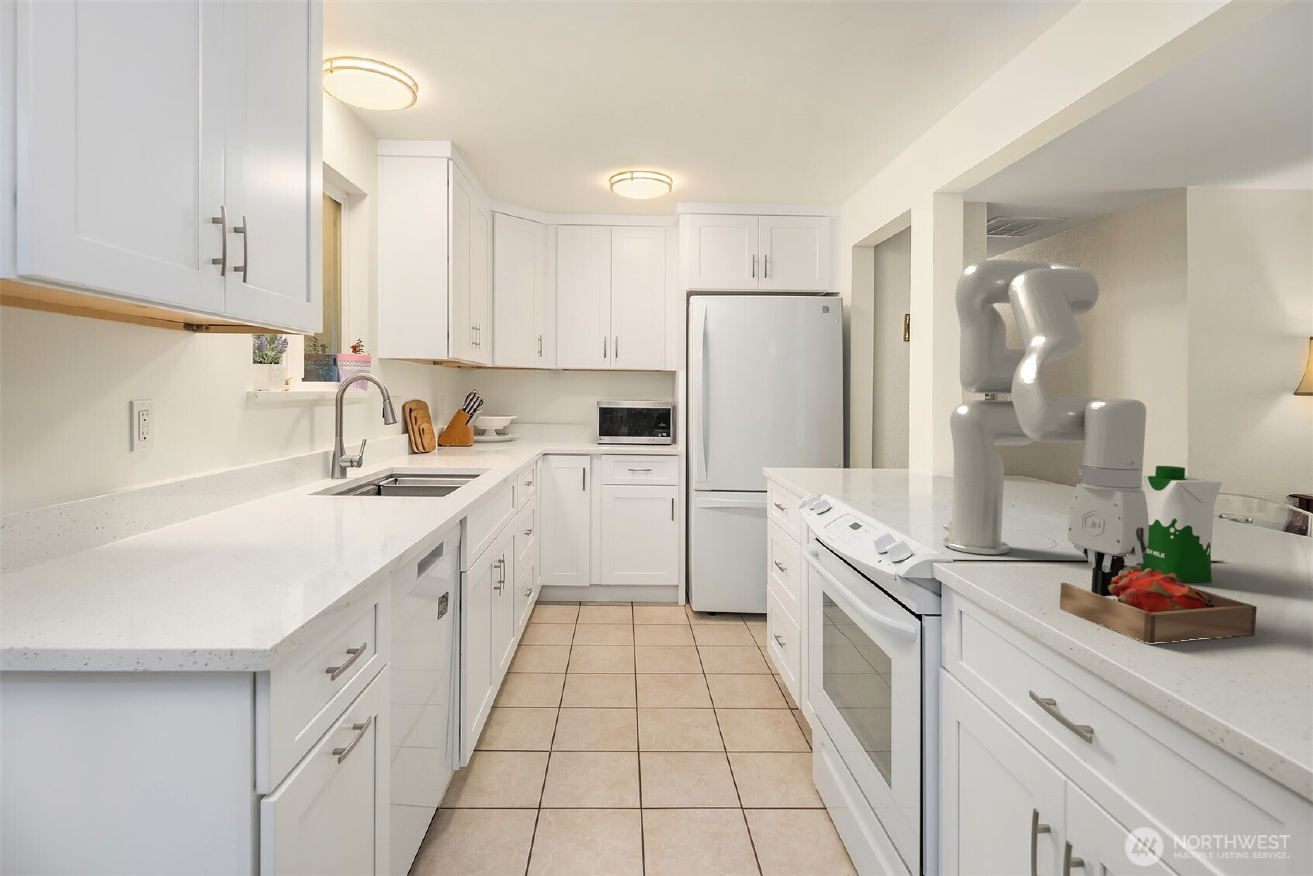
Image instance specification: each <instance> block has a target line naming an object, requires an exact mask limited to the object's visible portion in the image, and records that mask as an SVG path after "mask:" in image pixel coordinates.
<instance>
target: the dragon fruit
mask: <svg viewBox="0 0 1313 876" xmlns="http://www.w3.org/2000/svg"><path fill="white" fill-rule="evenodd" d="M1130 569H1131V570H1128V569H1127V570H1125V569H1124V570H1123V571H1120V573H1119V575H1118V576H1116V577H1114V578H1113V577H1112V580H1111V585H1109V586H1107V587H1108V588H1109V591H1110V592H1111V594H1113V595H1115V598H1117V599H1115V598H1113V600H1116V601H1118V602H1121V603H1124V604H1127V605H1130V606H1132V607H1135V608H1138V609H1141V610H1144V611H1147V612H1149V613H1152V612H1165V611H1177V610H1189V609H1201V608H1205V607H1206V608H1214V605H1213V604H1212V605H1210V606H1208V605H1209V604H1208V603H1210V602H1211V600H1209V598H1208V597H1207V596H1206V595H1205V594H1203V593H1201V592H1199V591H1196V590H1192V589H1191V587H1192V586H1191V585H1189V584H1186V583H1184V582H1182V580H1181V579H1179V578H1176V576H1177V575H1176V574H1175V573H1170V574H1167V575H1163V574H1162V572H1161V571H1160V570H1159V569H1155V570H1153V571H1152V569H1151V568H1147V569H1146V570H1145V571H1142V570H1141V568H1140V567H1135V566H1131V567H1130Z"/></svg>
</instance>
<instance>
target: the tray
mask: <svg viewBox="0 0 1313 876" xmlns="http://www.w3.org/2000/svg"><path fill="white" fill-rule="evenodd" d="M1191 589H1192V590H1196V591H1199V592H1201V593H1203V594H1205V595H1206V596H1207V597H1208V598H1209V600H1211V602H1210V603H1208V604H1209V605H1208V606H1210V605H1212V604H1213V605H1214V608H1206V607H1205V608H1201V609H1189V610H1177V611H1165V612H1152V613H1149V612H1147V611H1144V610H1141V609H1138V608H1135V607H1132V606H1130V605H1127V604H1124V603H1121V602H1118V601H1117V599H1116V600H1113V599H1114V598H1113V599H1112V598H1109V597H1108V596H1101V595H1099V594H1096V593H1093V592H1091V591H1090V590H1087V589H1085V588H1081V587H1079V586H1076V585H1073V584H1070V583H1067V582H1061V583H1060V598H1059V610H1062V611H1065V612H1067V613H1070V614H1072V615H1074V614H1075V616H1077V617H1079V618H1082V619H1084V618H1086V619H1085V620H1087V619H1088V620H1087V621H1089V620H1090V621H1089V622H1091V621H1093V622H1092V623H1094V622H1096V623H1098V624H1097V625H1099V624H1102V625H1104V626H1106V627H1108V628H1107V629H1109V628H1112V629H1114V630H1115V631H1114V632H1116V631H1119V632H1122V633H1123V634H1125V635H1124V636H1126V635H1129V636H1131V637H1133V638H1137V639H1139V640H1142V641H1144V642H1148V643H1155V642H1172V641H1181V640H1189V639H1199V638H1217V637H1227V636H1231V637H1230V638H1233V637H1232V636H1240V637H1244V636H1243V635H1250V636H1255V635H1256V620H1257V608H1258V606H1257V605H1252V604H1250V603H1246V602H1243V601H1239V600H1236V599H1232V598H1228V597H1225V596H1223V595H1218V594H1215V593H1212V592H1209V591H1205V590H1201V589H1198V588H1195V587H1192V586H1191ZM1096 623H1095V624H1096ZM1104 626H1103V627H1104ZM1106 627H1105V628H1106ZM1123 634H1122V635H1123ZM1131 637H1130V638H1131ZM1133 638H1132V639H1133Z"/></svg>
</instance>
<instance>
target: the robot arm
mask: <svg viewBox="0 0 1313 876" xmlns="http://www.w3.org/2000/svg"><path fill="white" fill-rule="evenodd" d="M955 287H956V289H955V294H954V295H955V306H956V312H957V315H958V321H959V327H960V340H959V342H960V343H959V345H960V346H959V382H960V385H961V387H962V389H963V390H964V391H965V392H968V393H972V394H983V395H985V394H986V395H1005V394H1006V396H1007V400H998V399H994V400H993V399H992V400H991V399H987V400H986V399H984V400H983V399H977V400H968V401H965V402H962V403H960V404H958V405H957V406H956V407H955V408H954V409H953V411H952V412H951V415H950V420H949V423H950V432H951V438H952V446H953V473H952V474H953V478H952V479H953V480H952V482H953V484H952V503H951V504H952V507H951V508H952V509H951V521H950V522H948V523H944V524H943V527H942V528H943V530H945V531H948V536H946V537H943V539H942V544H943V546H944V547H946V546H948V547H949V549H951V550H954V549H955V551H959V552H963V553H967V554H977V555H1002V554H1003V555H1004V554H1007V553H1009V552H1010V545H1009V544H1008V543H1006V542H1004V541H1002V532H1003V531H1002V528H1003V510H1004V508H1003V507H1004V506H1003V505H1004V487H1005V468H1004V462H1003V459H1002V458H1001V456H1000V455H999V453H998V451H997V449H996V448H995V447H996V446H1024V445H1025V446H1026V445H1029V444H1031V443H1034V442H1040V443H1077V444H1079V443H1082V446H1083V447H1082V461H1081V462H1082V463H1081V465H1082V466H1081V467H1079V469H1078V470H1077V471H1078V472H1077V474H1079V475H1080V476H1081V478H1080V479H1081V481H1080V483H1077V484H1076V486H1075V489H1074V492H1073V495H1072V498H1071V502H1070V508H1069V512H1068V513H1069V515H1068V520H1067V521H1068V522H1067V533H1066V534H1067V540H1068V542H1069V543H1071V544H1073V547H1074V549H1075V550H1077V551H1078V552H1080V553H1082V554H1084V556H1085V557H1086V559H1087V561H1088V566H1089V567H1090V568H1091V569H1092V574H1091V576H1092V577H1091V591H1090V592H1093V593H1096V594H1099V595H1101V596H1104V597H1114V596H1115V595H1113V594H1111V592H1110V591H1109V588H1108V587H1107V586H1109V585H1111V580H1112V577H1113V578H1114V577H1116V576H1118V575H1119V576H1120V572H1122V571H1124V570H1125V568H1126V567H1128V566H1131V567H1135V566H1141V565H1143V554H1145V553H1146V551H1147V547H1148V535H1149V523H1148V509H1147V496H1146V491H1145V490H1142V489H1143V488H1142V486H1143V469H1144V457H1145V456H1144V453H1145V439H1146V438H1145V436H1146V422H1147V421H1146V420H1147V418H1146V417H1147V407H1146V405H1145V404H1144V402H1143V401H1140V400H1139V399H1130V398H1129V399H1126V398H1100V397H1077V396H1075V397H1074V396H1057V397H1056V396H1048V393H1047V391H1046V388H1045V368H1044V366H1045V365H1048V364H1051V363H1053V362H1056V361H1058V360H1060V359H1063V358H1065V357H1067V356H1068V355H1070V354H1072V353H1073V352H1075V351H1076V350H1077V349H1078V347H1080V345H1081V344H1082V334H1081V332H1080V331H1081V330H1079V326H1078V324H1077V322H1076V321H1077V320H1076V318H1075V316H1082V315H1085V314H1087V313H1088V312H1090V311H1092V309H1093V308H1094V307H1095V305H1096V304H1097V302H1098V299H1099V295H1100V294H1099V293H1100V289H1099V284H1098V281H1097V279H1096V278H1095V275H1093V274H1092V273H1091V272H1090V271H1088V270H1086V269H1084V268H1080V267H1076V266H1071V265H1067V264H1062V263H1059V262H1055V261H1049V260H1037V259H1036V260H1035V259H1032V260H1027V259H1024V260H1023V259H1021V260H1020V259H988V260H987V259H986V260H981V261H977V262H974V263H972V264H969V265H968V266H967V267H966V268H964V270H963V271H962V272H961V274H960V275H959V278H958V280H957V283H956V286H955ZM994 304H1010V306H1011V310H1012V313H1013V316H1014V319H1015V323H1016V326H1017V328H1018V329H1017V330H1018V332H1019V335H1020V338H1021V342H1022V345H1023V348H1008V347H1007V325H1006V322H1005V321H1004V318H1003V316H1002V315H1001V313H1000V312H999V310H997V308H995V306H994ZM948 547H947V548H948ZM1115 597H1116V596H1115Z"/></svg>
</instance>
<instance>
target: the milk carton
mask: <svg viewBox="0 0 1313 876" xmlns="http://www.w3.org/2000/svg"><path fill="white" fill-rule="evenodd" d="M1142 481H1143V484H1144V491H1145V496H1146V501H1147V509H1148V523H1149V535H1148V547H1147V551H1146V553H1145V554H1143V555H1142V556H1143V565H1140V569H1141V570H1142V571H1145V570H1146V569H1147V568H1151V569H1152V571H1153V570H1155V569H1159V570H1160V571H1161V572H1162V574H1163V575H1167V574H1170V573H1175V574H1176V575H1177V576H1176V578H1179V579H1181V580H1182V583H1205V582H1211V583H1213V581H1212V576H1213V575H1212V558H1211V557H1212V556H1211V553H1212V552H1211V551H1212V538H1213V537H1212V536H1213V524H1214V523H1213V522H1214V510H1215V509H1214V508H1215V504H1216V503H1215V502H1216V500H1217V497H1218V495H1219V491H1220V489H1221V486H1222V483H1223V482H1222V481H1215V480H1210V479H1204V478H1196V477H1191V476H1186V468H1185V467H1183V466H1176V465H1174V466H1171V465H1157V466H1155V475H1142Z"/></svg>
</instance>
